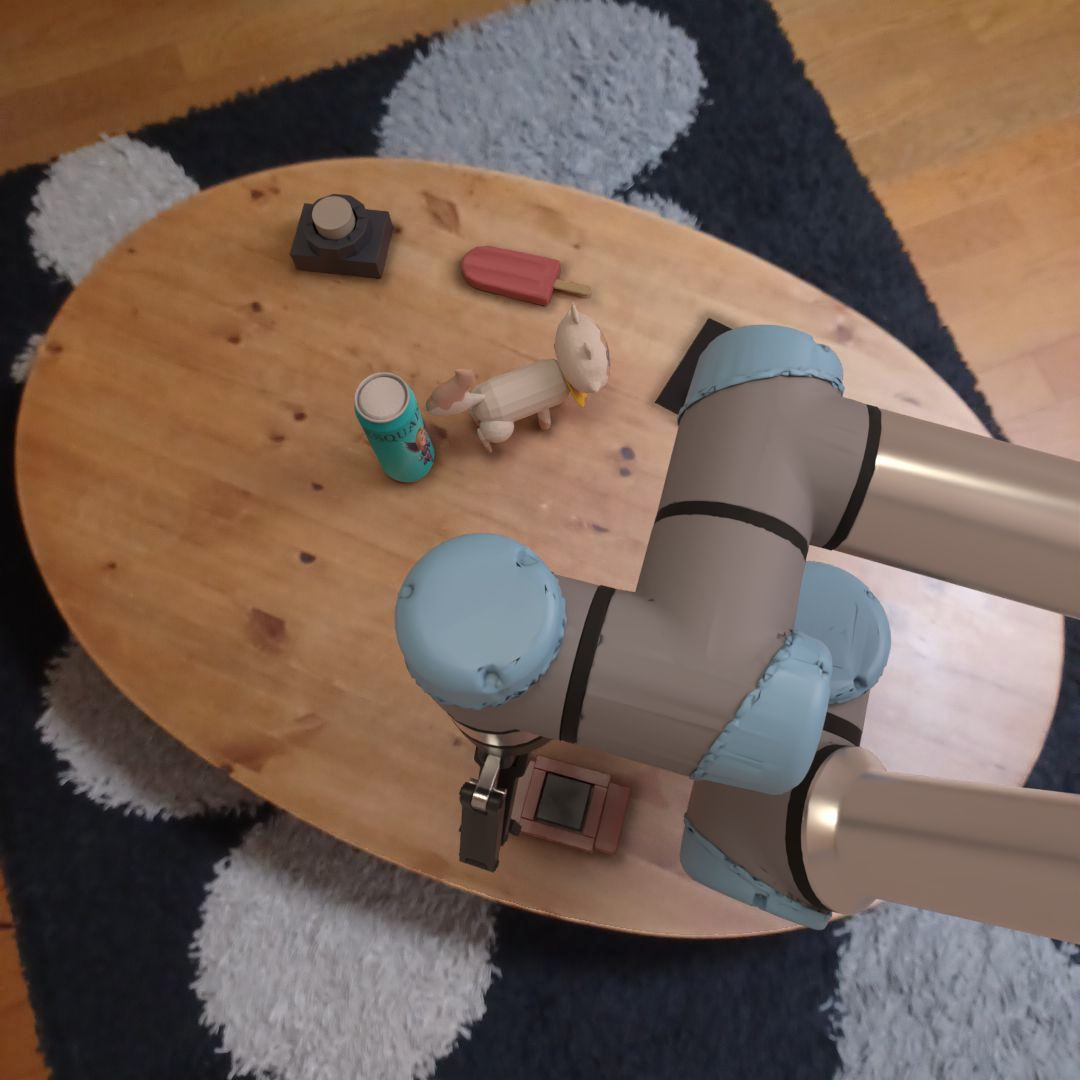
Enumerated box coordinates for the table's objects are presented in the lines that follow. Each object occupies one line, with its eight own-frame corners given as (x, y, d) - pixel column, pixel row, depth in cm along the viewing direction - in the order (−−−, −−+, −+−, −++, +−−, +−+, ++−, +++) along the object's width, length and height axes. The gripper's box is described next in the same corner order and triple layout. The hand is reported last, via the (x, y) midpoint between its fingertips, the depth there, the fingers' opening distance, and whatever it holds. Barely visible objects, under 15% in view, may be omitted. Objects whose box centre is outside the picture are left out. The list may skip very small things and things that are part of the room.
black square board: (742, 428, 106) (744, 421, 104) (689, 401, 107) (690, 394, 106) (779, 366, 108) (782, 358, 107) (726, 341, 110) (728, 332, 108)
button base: (394, 226, 117) (385, 198, 112) (381, 279, 115) (371, 253, 110) (311, 218, 118) (299, 190, 113) (296, 270, 116) (283, 244, 111)
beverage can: (430, 492, 105) (403, 429, 91) (377, 483, 106) (343, 419, 92) (442, 443, 107) (419, 373, 93) (390, 434, 108) (359, 364, 94)
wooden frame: (631, 785, 94) (633, 780, 91) (613, 860, 92) (614, 858, 88) (519, 754, 96) (515, 748, 92) (498, 827, 94) (494, 824, 90)
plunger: (359, 209, 113) (355, 197, 111) (350, 242, 111) (346, 231, 109) (321, 205, 113) (316, 194, 111) (312, 238, 112) (307, 227, 110)
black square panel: (591, 786, 91) (591, 784, 89) (580, 831, 90) (580, 829, 88) (548, 775, 92) (547, 772, 90) (537, 819, 90) (536, 817, 89)
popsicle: (584, 308, 110) (454, 278, 112) (584, 315, 112) (456, 286, 114) (597, 267, 112) (469, 239, 114) (597, 276, 113) (471, 247, 115)
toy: (624, 426, 107) (628, 353, 93) (456, 490, 105) (435, 427, 91) (591, 357, 110) (591, 277, 96) (428, 419, 108) (403, 347, 94)
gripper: (512, 470, 62) (535, 575, 81) (365, 880, 54) (430, 886, 74) (631, 502, 60) (624, 601, 80) (498, 926, 53) (527, 919, 73)
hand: (531, 738), depth 77 cm, fingers open, 13 cm apart
